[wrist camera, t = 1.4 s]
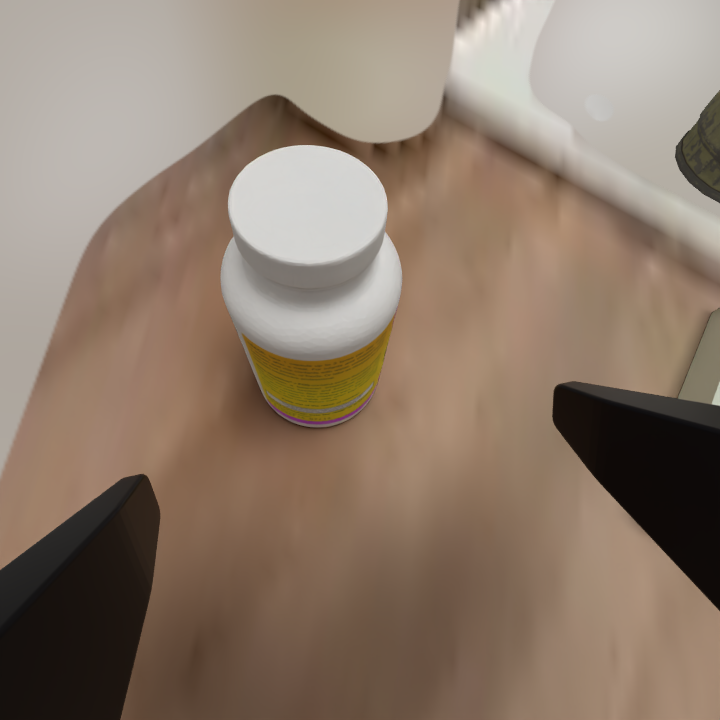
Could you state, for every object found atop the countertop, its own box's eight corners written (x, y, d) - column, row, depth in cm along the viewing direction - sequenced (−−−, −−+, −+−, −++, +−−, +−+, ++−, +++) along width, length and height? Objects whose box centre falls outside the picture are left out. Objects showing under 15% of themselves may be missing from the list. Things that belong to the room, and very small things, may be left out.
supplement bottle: (397, 404, 24) (463, 256, 12) (281, 449, 22) (228, 330, 10) (350, 307, 26) (368, 104, 14) (244, 342, 25) (167, 148, 13)
